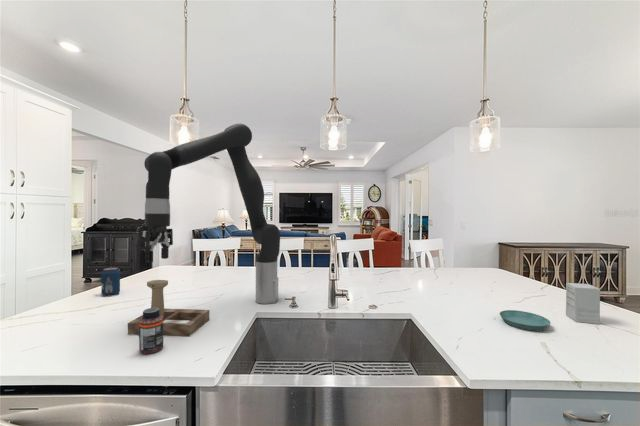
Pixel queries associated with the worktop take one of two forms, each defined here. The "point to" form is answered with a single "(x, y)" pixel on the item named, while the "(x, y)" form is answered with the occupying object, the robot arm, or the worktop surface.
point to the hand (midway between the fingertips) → (157, 260)
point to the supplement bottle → (150, 331)
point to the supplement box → (583, 303)
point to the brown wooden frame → (176, 322)
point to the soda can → (110, 281)
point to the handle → (157, 294)
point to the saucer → (524, 320)
